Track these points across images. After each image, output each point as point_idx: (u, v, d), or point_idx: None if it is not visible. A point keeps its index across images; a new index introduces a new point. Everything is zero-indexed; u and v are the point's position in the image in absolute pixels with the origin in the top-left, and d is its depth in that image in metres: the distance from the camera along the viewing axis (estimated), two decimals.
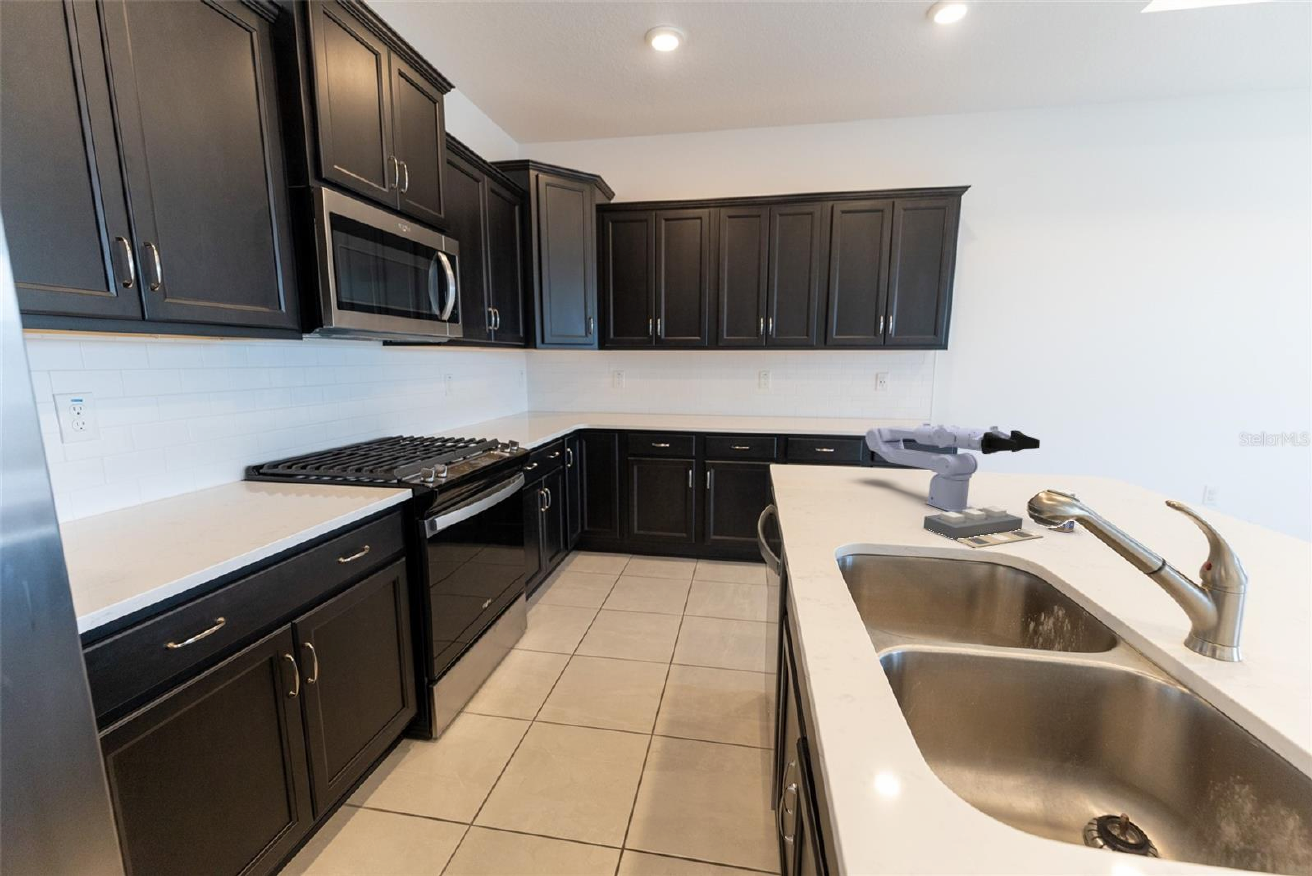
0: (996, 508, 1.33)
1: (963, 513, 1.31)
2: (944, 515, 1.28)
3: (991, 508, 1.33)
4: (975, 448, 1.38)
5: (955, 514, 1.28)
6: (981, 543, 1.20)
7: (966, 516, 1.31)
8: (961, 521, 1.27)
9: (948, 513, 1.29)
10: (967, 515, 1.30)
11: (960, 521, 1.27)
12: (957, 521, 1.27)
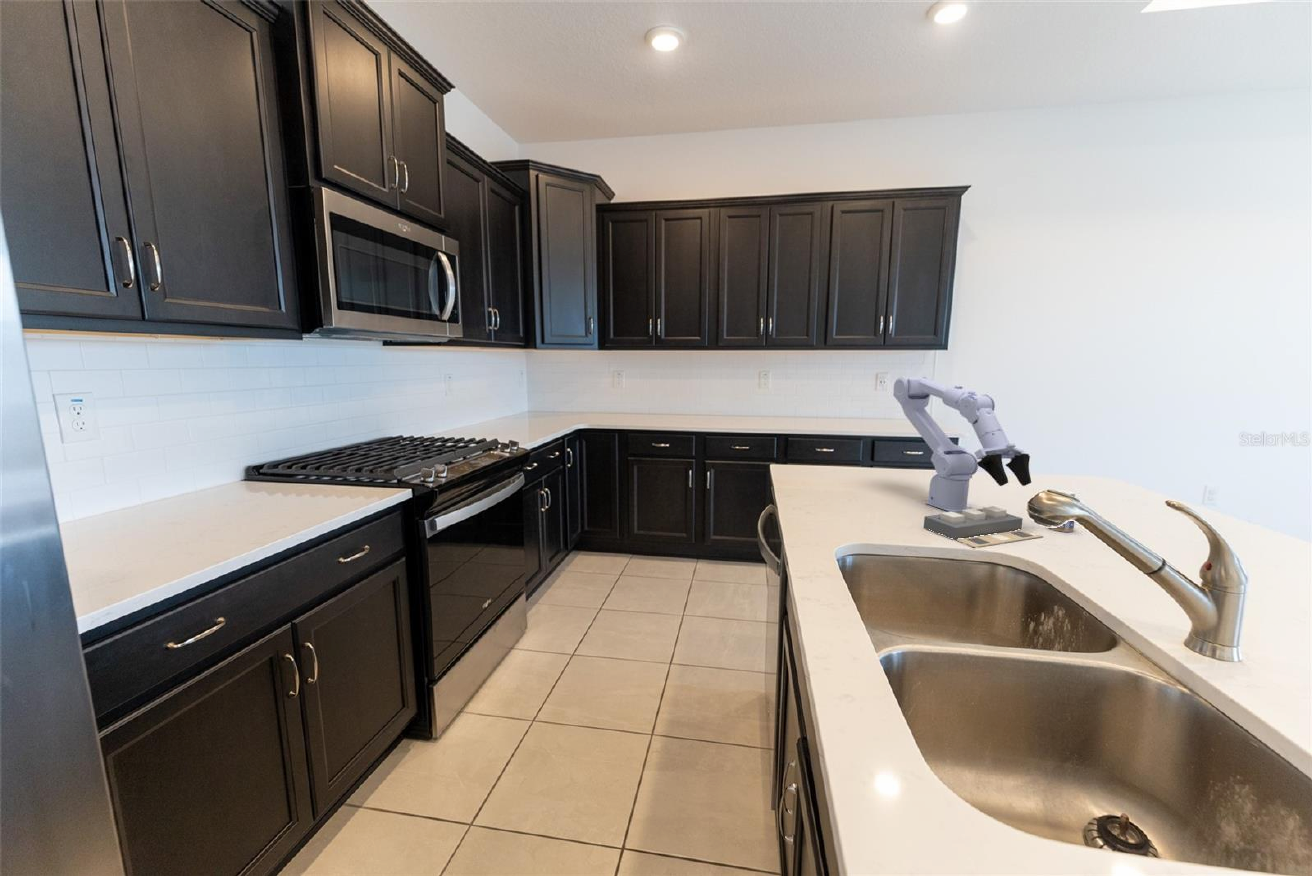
0: (996, 508, 1.33)
1: (963, 513, 1.31)
2: (944, 515, 1.28)
3: (991, 508, 1.33)
4: (981, 444, 1.35)
5: (955, 514, 1.28)
6: (981, 543, 1.20)
7: (966, 516, 1.31)
8: (961, 521, 1.27)
9: (948, 513, 1.29)
10: (967, 515, 1.30)
11: (960, 521, 1.27)
12: (957, 521, 1.27)
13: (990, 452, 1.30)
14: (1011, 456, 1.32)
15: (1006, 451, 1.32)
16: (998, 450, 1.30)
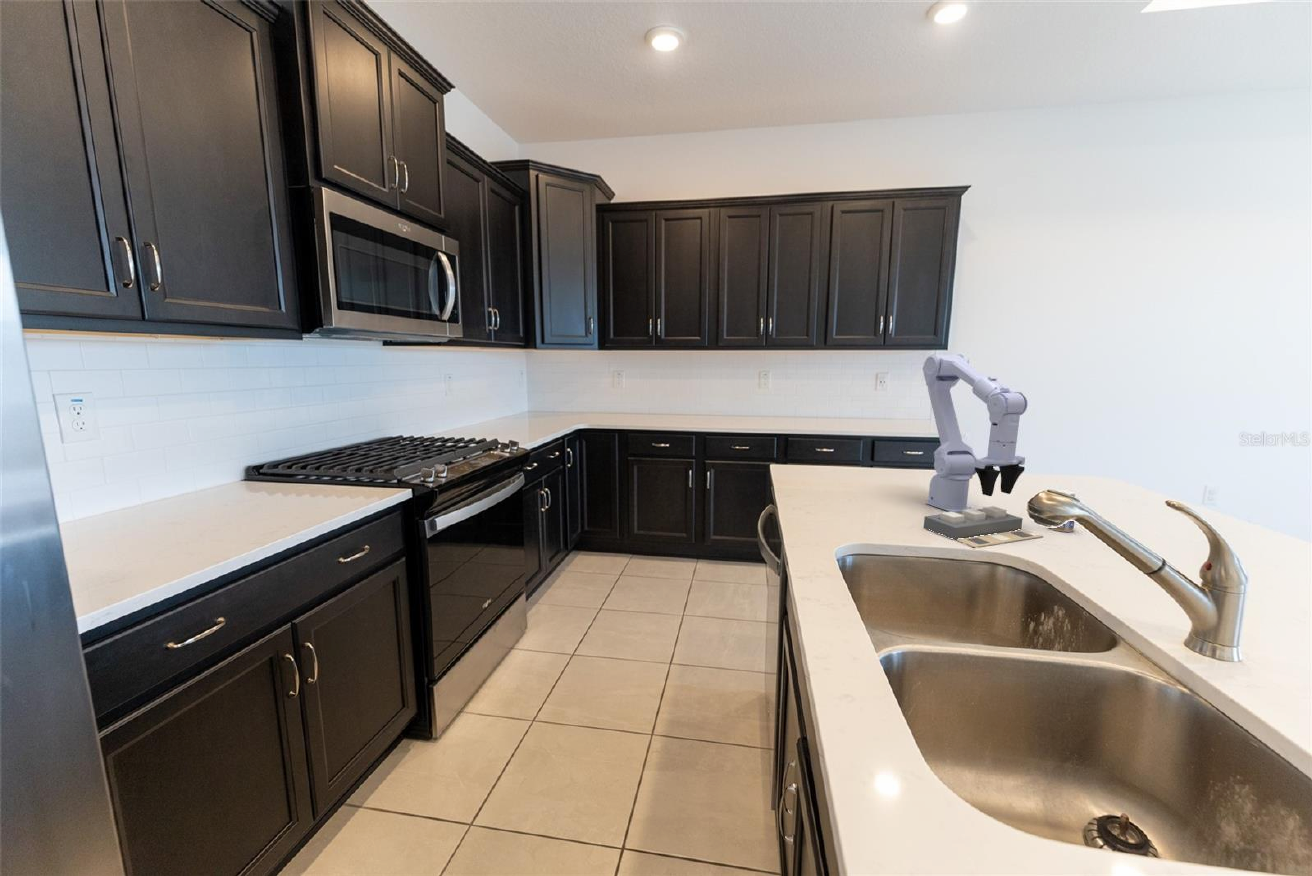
0: (996, 508, 1.33)
1: (963, 513, 1.31)
2: (944, 515, 1.28)
3: (991, 508, 1.33)
4: None
5: (955, 514, 1.28)
6: (981, 543, 1.20)
7: (966, 516, 1.31)
8: (961, 521, 1.27)
9: (948, 513, 1.29)
10: (967, 515, 1.30)
11: (960, 521, 1.27)
12: (957, 521, 1.27)
13: None
14: (1009, 464, 1.32)
15: None
16: (999, 463, 1.28)
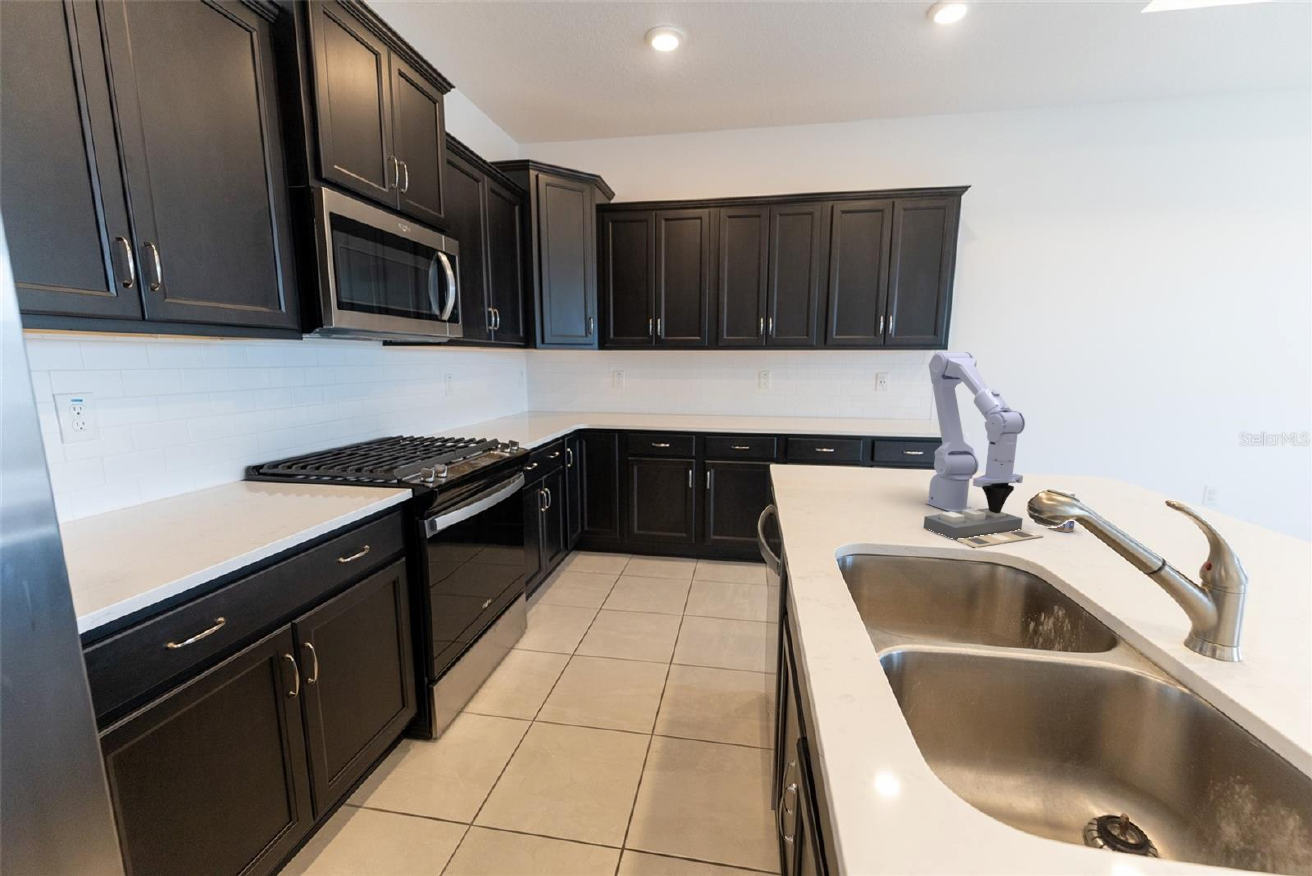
0: None
1: (963, 513, 1.31)
2: (944, 515, 1.28)
3: None
4: None
5: (955, 514, 1.28)
6: (981, 543, 1.20)
7: (966, 516, 1.31)
8: (961, 521, 1.27)
9: (948, 513, 1.29)
10: (967, 515, 1.30)
11: (960, 521, 1.27)
12: (957, 521, 1.27)
13: None
14: None
15: None
16: None
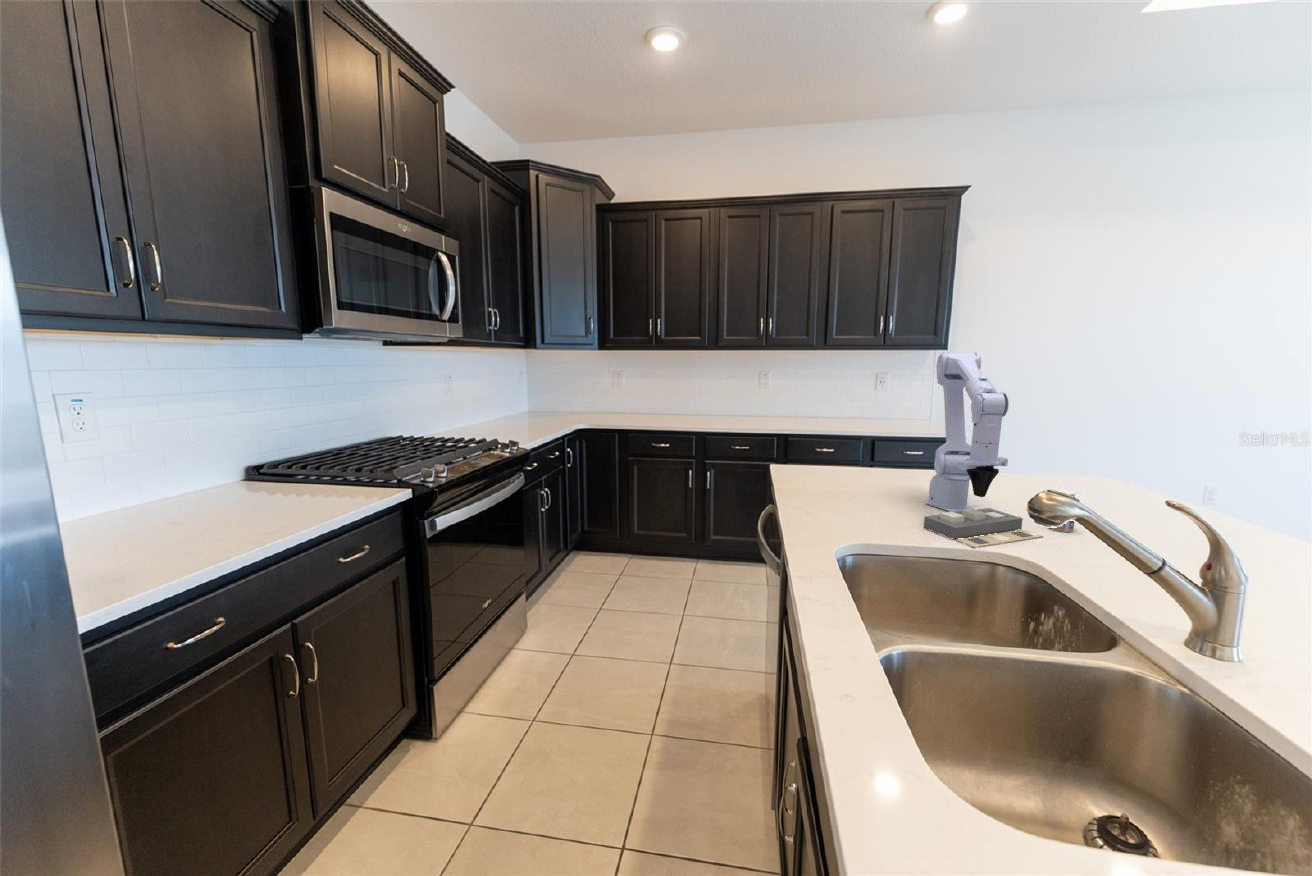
0: (995, 514, 1.33)
1: (963, 513, 1.31)
2: (944, 515, 1.28)
3: (990, 514, 1.33)
4: (971, 446, 1.29)
5: (955, 514, 1.28)
6: (981, 543, 1.20)
7: (966, 516, 1.31)
8: (961, 521, 1.27)
9: (948, 513, 1.29)
10: (967, 515, 1.30)
11: (960, 521, 1.27)
12: (957, 521, 1.27)
13: (973, 464, 1.27)
14: (992, 465, 1.30)
15: None
16: (981, 464, 1.26)
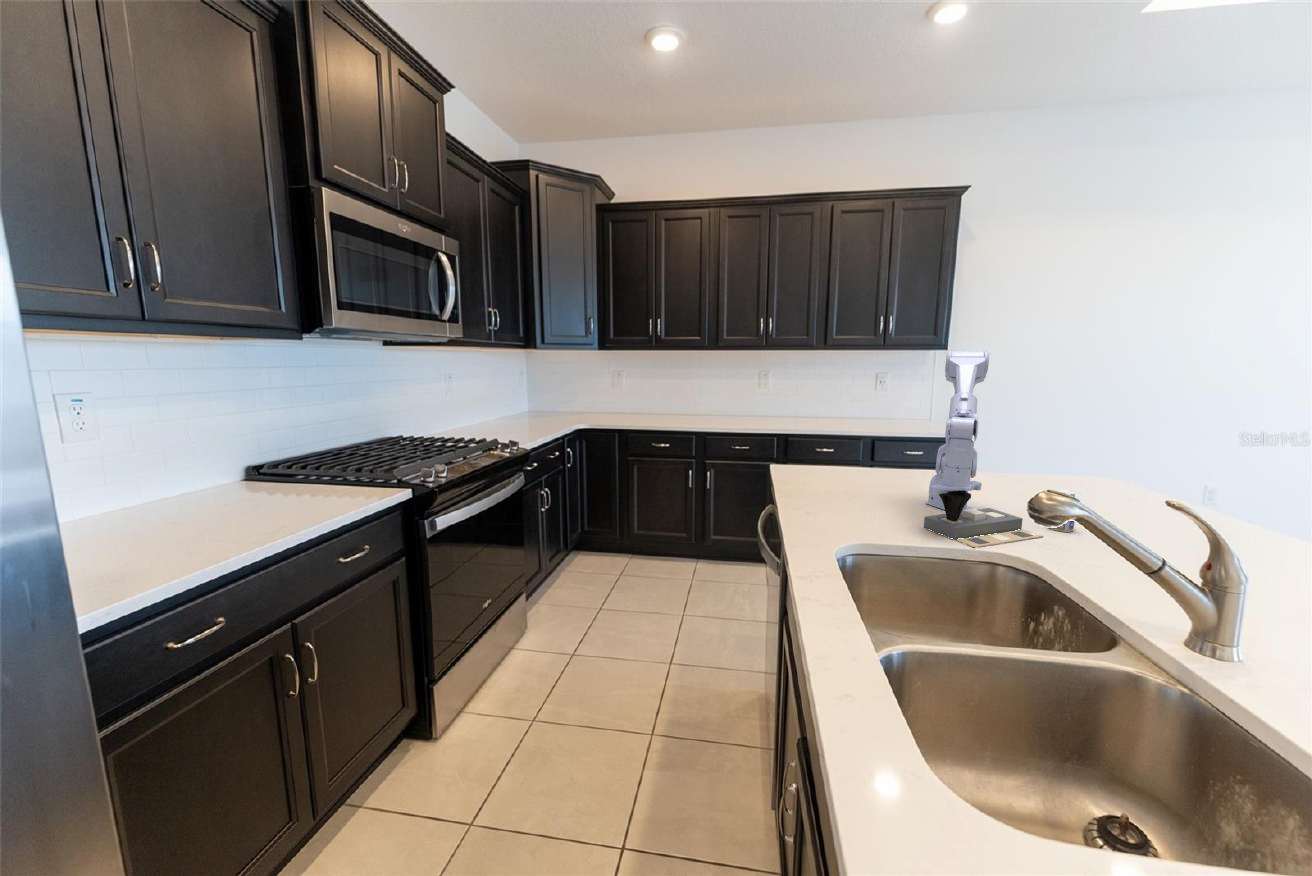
0: (995, 514, 1.33)
1: (963, 513, 1.31)
2: None
3: (990, 514, 1.33)
4: (943, 469, 1.28)
5: None
6: (981, 543, 1.20)
7: (966, 516, 1.31)
8: None
9: None
10: (967, 515, 1.30)
11: None
12: None
13: None
14: (965, 489, 1.28)
15: None
16: (953, 489, 1.25)
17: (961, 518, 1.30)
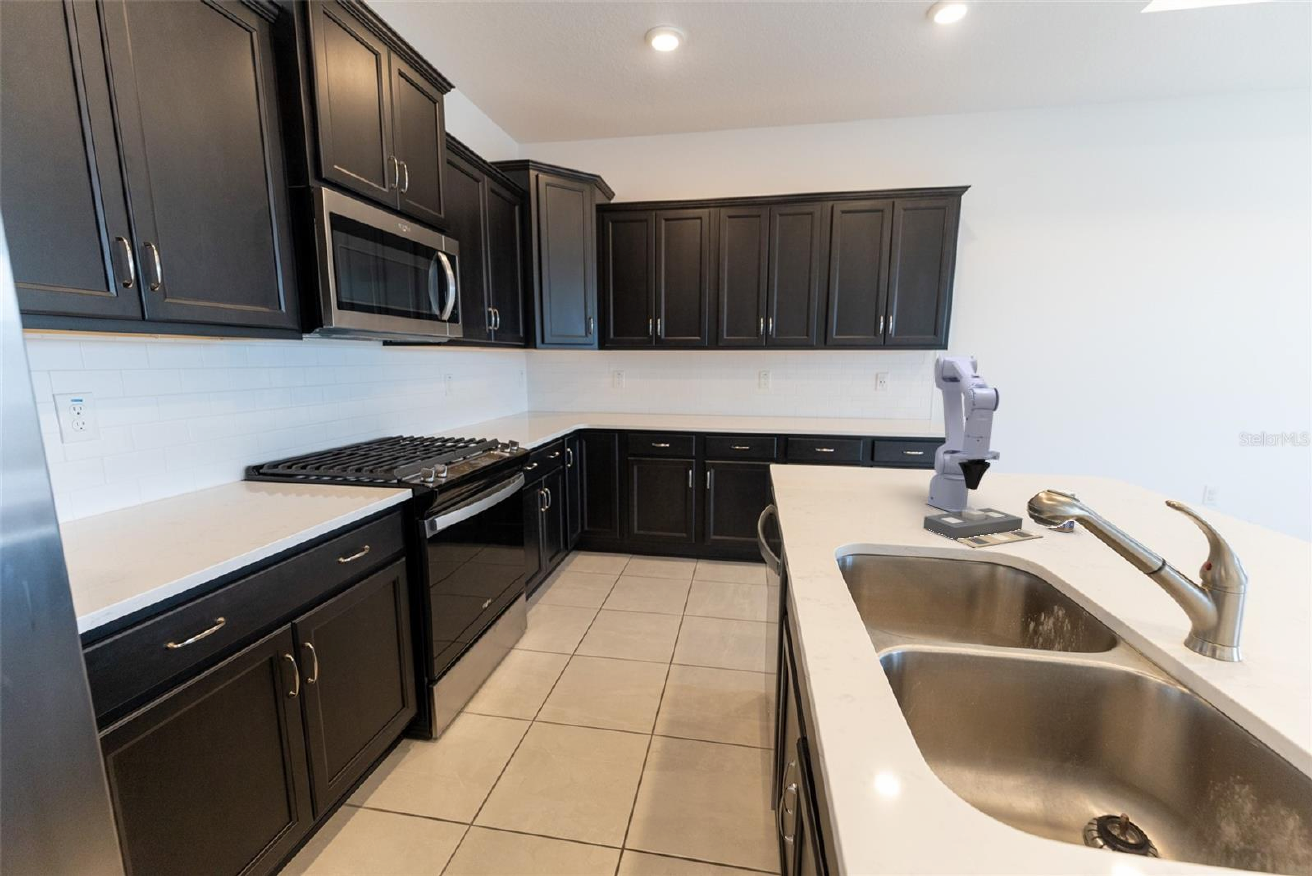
0: (995, 514, 1.33)
1: (963, 513, 1.31)
2: None
3: (990, 514, 1.33)
4: (963, 440, 1.32)
5: (954, 520, 1.28)
6: (981, 543, 1.20)
7: (966, 516, 1.31)
8: None
9: (947, 518, 1.29)
10: (967, 515, 1.30)
11: None
12: None
13: None
14: (984, 459, 1.33)
15: None
16: None
17: (961, 518, 1.30)
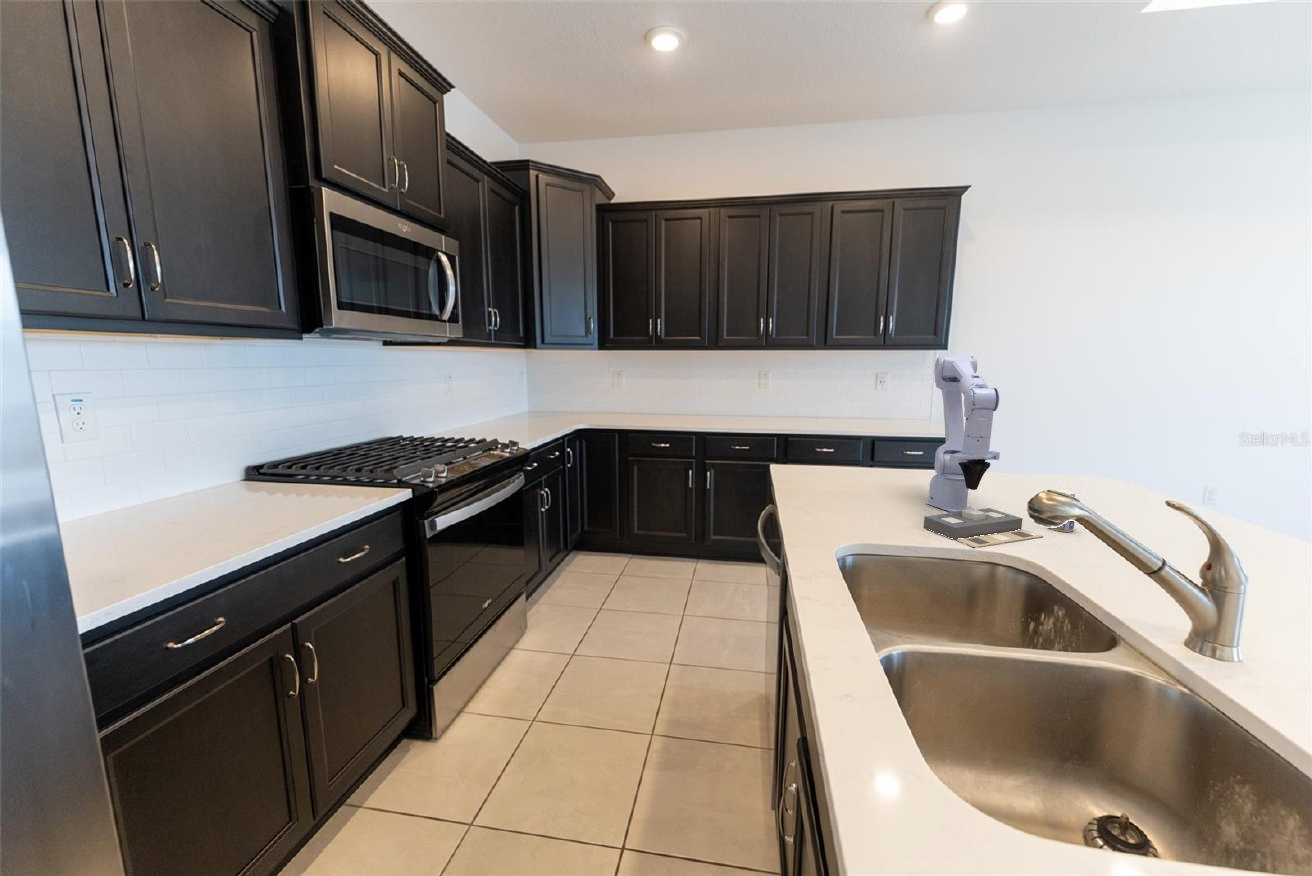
0: (995, 514, 1.33)
1: (963, 513, 1.31)
2: None
3: (990, 514, 1.33)
4: (963, 440, 1.32)
5: (954, 520, 1.28)
6: (981, 543, 1.20)
7: (966, 516, 1.31)
8: None
9: (947, 518, 1.29)
10: (967, 515, 1.30)
11: None
12: None
13: None
14: (984, 459, 1.33)
15: None
16: None
17: (961, 518, 1.30)
